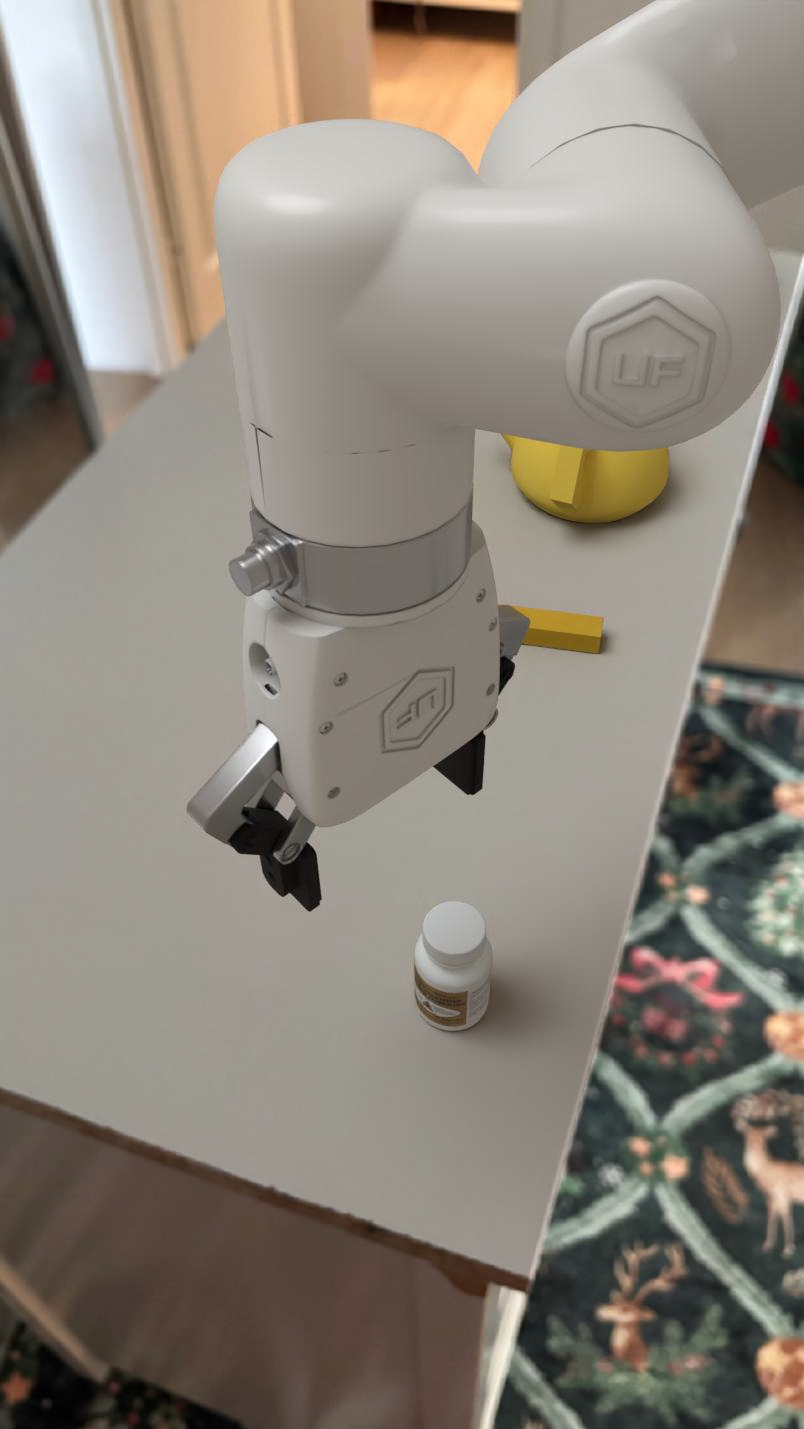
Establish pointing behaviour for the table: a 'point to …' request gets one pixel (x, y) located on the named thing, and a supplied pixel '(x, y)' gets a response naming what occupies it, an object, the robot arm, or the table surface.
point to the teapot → (587, 479)
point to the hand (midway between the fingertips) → (378, 830)
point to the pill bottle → (452, 967)
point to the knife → (562, 630)
